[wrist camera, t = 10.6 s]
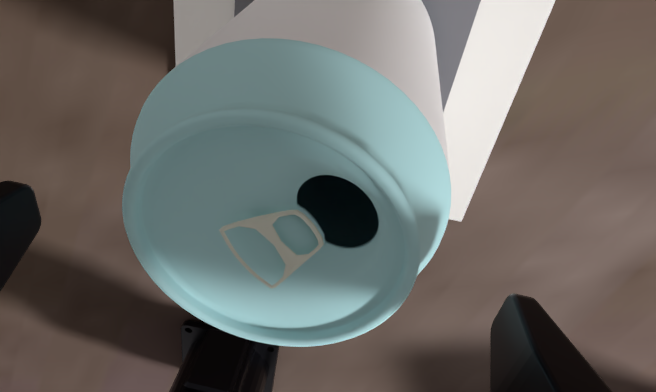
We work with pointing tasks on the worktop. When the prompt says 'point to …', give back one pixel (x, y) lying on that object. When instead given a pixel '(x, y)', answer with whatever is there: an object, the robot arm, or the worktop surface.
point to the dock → (453, 67)
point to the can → (294, 170)
